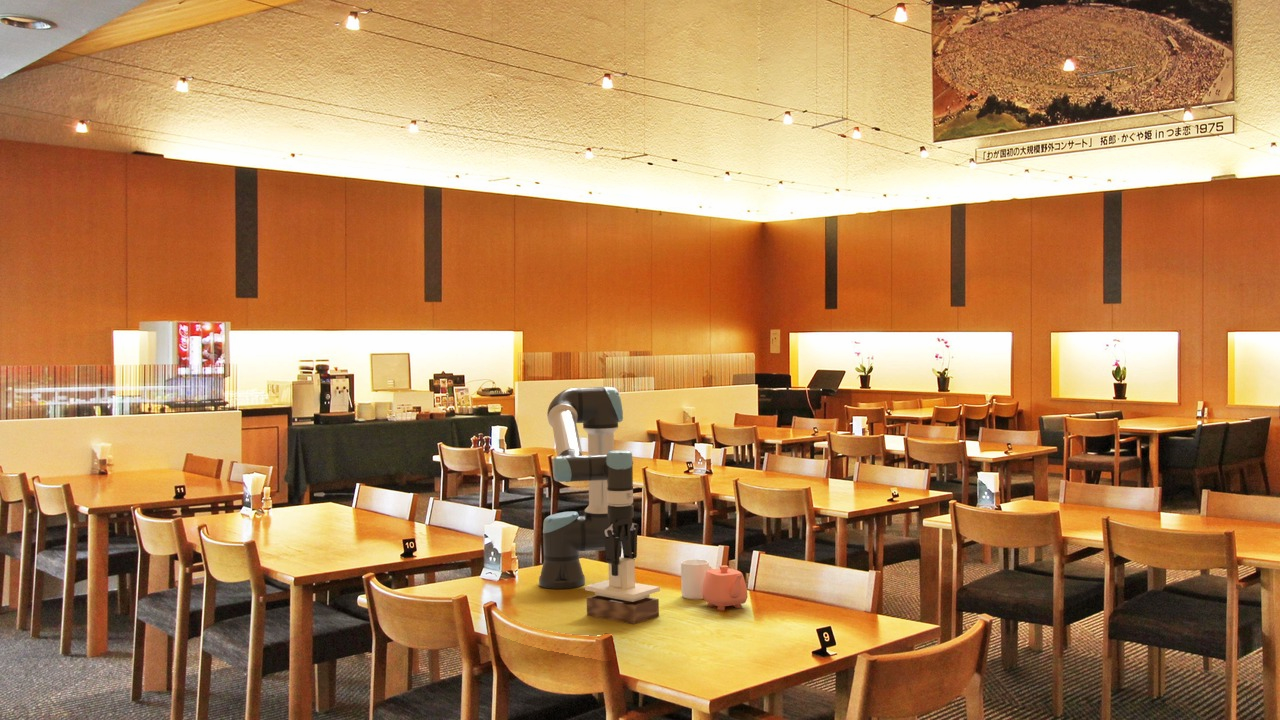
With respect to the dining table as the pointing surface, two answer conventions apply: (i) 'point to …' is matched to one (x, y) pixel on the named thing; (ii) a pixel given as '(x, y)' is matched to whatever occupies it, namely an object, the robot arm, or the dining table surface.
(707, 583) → the teapot
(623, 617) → the bento box
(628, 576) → the lid
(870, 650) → the dining table surface
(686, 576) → the mug
